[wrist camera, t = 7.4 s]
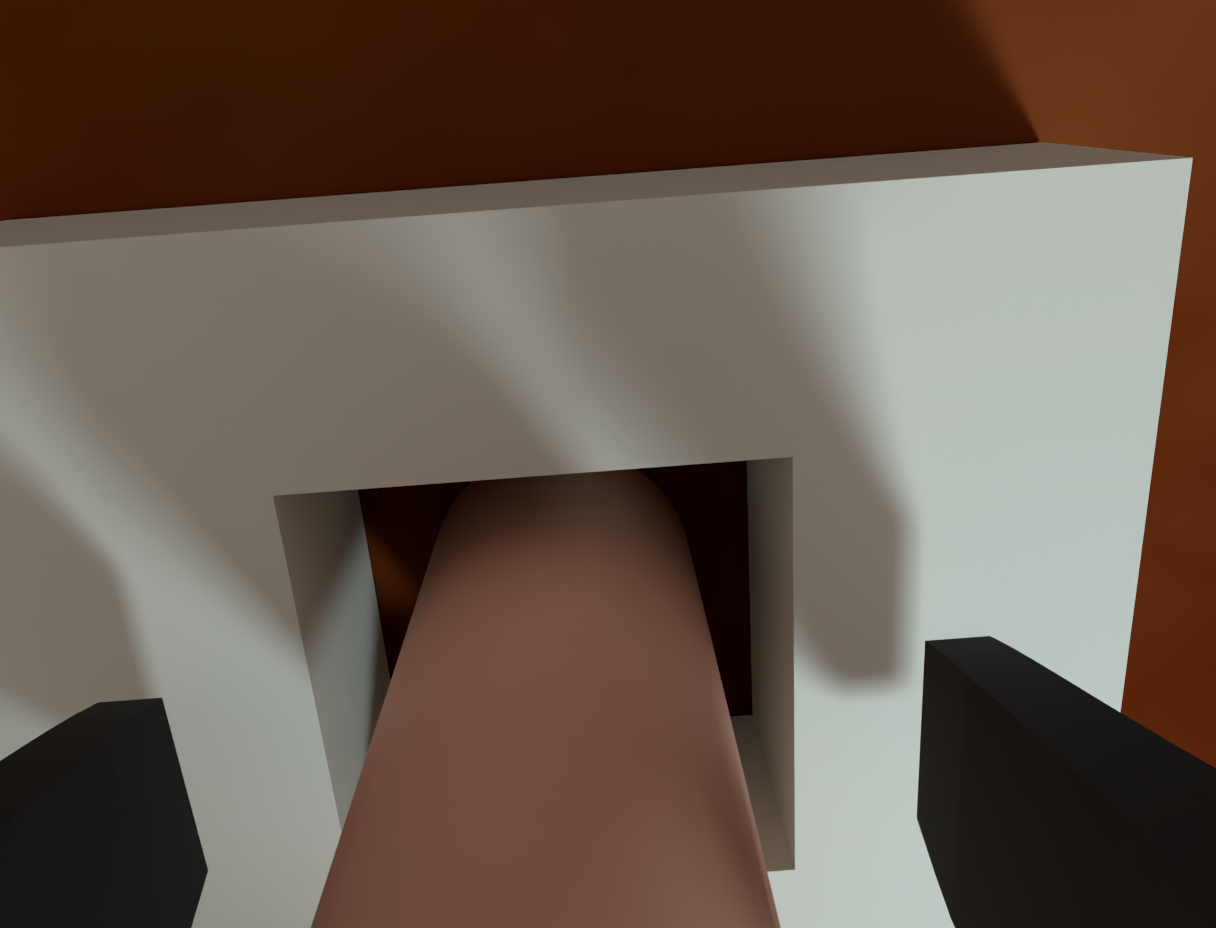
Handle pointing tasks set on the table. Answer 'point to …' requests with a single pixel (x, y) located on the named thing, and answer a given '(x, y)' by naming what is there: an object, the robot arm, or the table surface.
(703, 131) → the table surface
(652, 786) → the dowel
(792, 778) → the socket block
